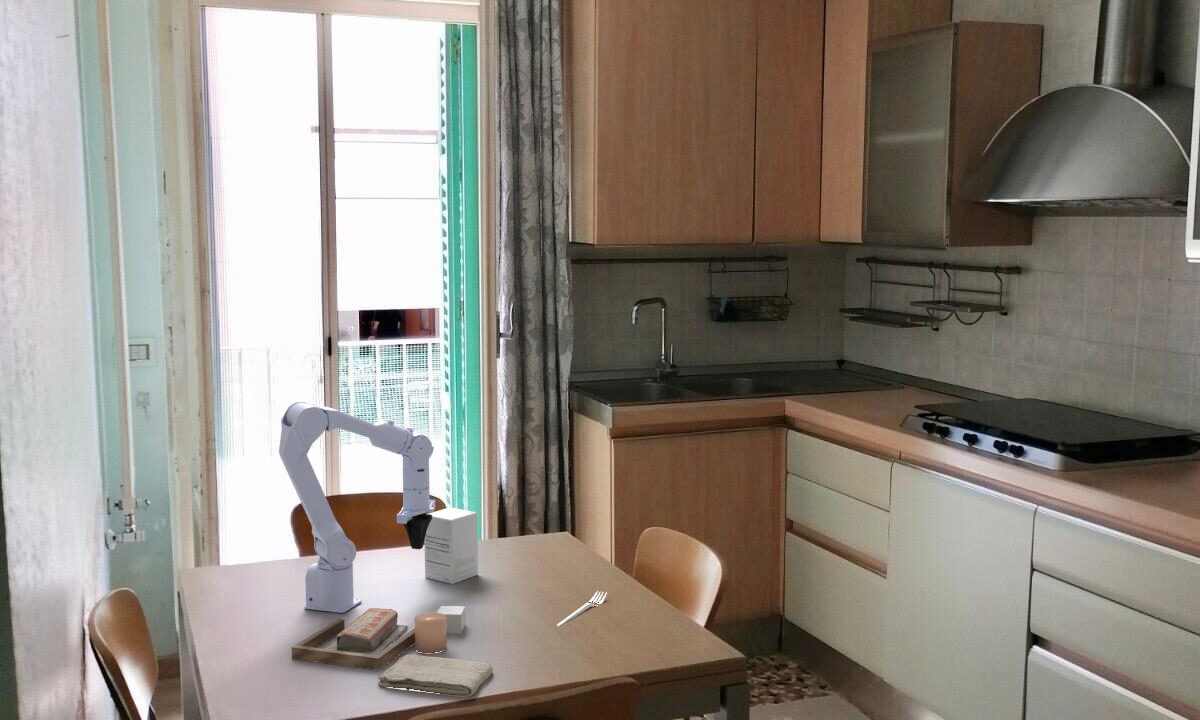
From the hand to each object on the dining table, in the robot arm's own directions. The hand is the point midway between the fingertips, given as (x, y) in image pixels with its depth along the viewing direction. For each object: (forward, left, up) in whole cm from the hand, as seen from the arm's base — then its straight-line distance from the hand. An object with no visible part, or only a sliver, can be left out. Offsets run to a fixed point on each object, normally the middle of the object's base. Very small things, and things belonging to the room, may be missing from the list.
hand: (417, 548), depth 247 cm
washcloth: (+26, -44, -11) cm, 52 cm away
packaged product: (+5, -31, -11) cm, 33 cm away
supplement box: (+2, +13, -10) cm, 17 cm away
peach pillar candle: (+18, -30, -10) cm, 36 cm away
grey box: (+17, -19, -10) cm, 27 cm away
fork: (+38, -1, -10) cm, 40 cm away
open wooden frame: (+5, -34, -10) cm, 36 cm away
